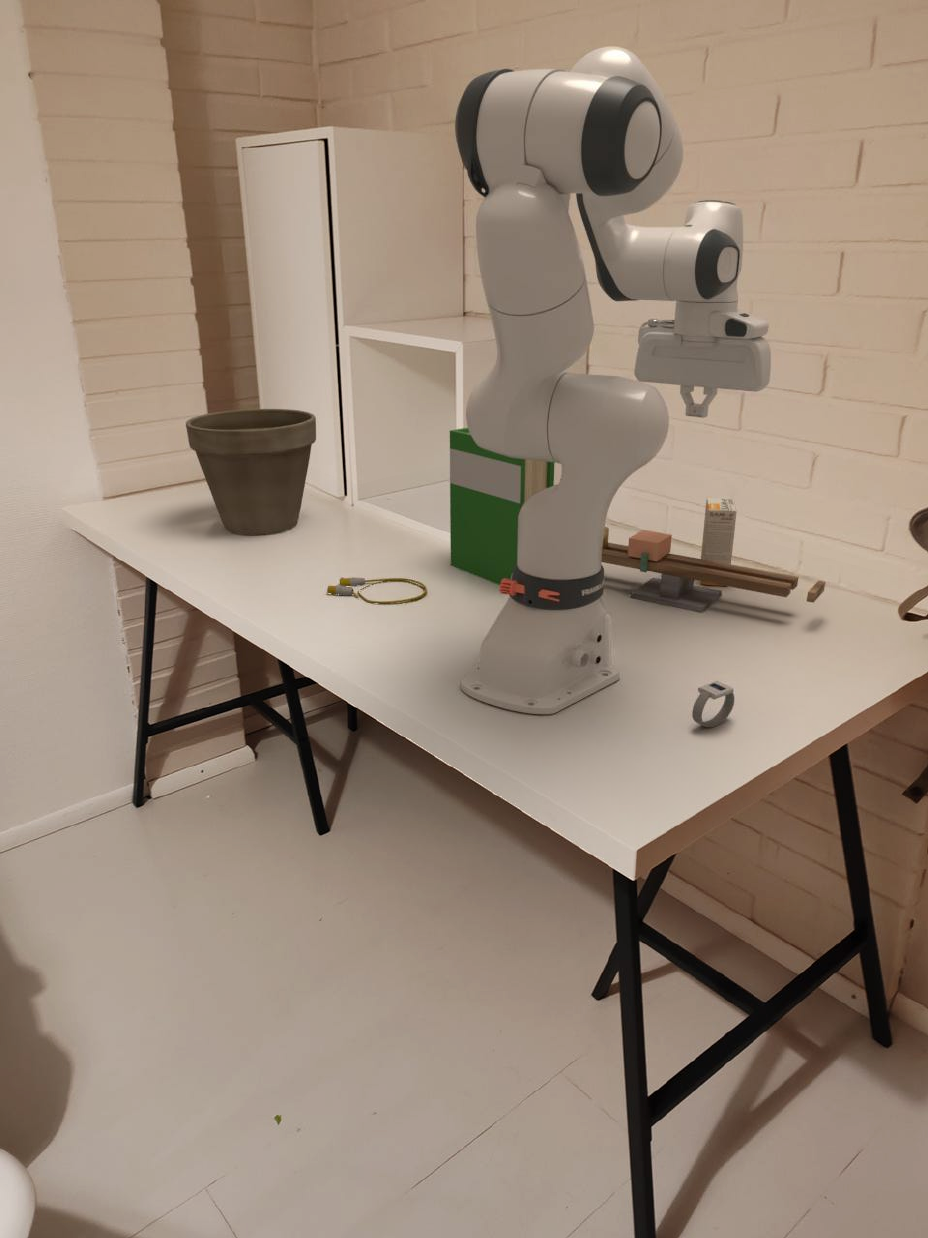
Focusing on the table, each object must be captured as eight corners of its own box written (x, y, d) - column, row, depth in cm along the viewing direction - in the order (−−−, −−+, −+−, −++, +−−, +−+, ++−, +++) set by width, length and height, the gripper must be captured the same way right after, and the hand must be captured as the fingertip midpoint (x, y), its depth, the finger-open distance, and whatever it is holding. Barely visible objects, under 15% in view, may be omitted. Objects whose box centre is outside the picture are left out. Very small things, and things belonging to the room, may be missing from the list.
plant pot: (187, 516, 200) (175, 411, 192) (302, 503, 210) (295, 403, 202) (211, 550, 179) (198, 434, 171) (337, 533, 189) (331, 423, 181)
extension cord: (365, 575, 168) (365, 564, 167) (440, 591, 160) (440, 580, 159) (320, 596, 158) (319, 584, 157) (397, 614, 150) (397, 602, 149)
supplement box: (729, 587, 160) (737, 511, 155) (700, 585, 161) (707, 509, 156) (727, 571, 168) (735, 498, 163) (698, 569, 169) (705, 496, 164)
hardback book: (550, 582, 163) (555, 440, 154) (518, 592, 158) (521, 447, 149) (482, 557, 175) (482, 425, 166) (450, 565, 171) (449, 430, 162)
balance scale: (806, 634, 141) (814, 576, 138) (544, 579, 164) (545, 528, 160) (822, 615, 148) (830, 559, 145) (568, 565, 171) (570, 516, 167)
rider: (656, 570, 154) (658, 543, 152) (627, 565, 156) (628, 538, 154) (669, 561, 158) (671, 534, 156) (641, 556, 160) (643, 529, 159)
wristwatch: (703, 736, 113) (707, 698, 111) (685, 727, 115) (689, 690, 113) (737, 722, 116) (742, 684, 114) (719, 713, 118) (723, 676, 117)
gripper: (630, 319, 144) (624, 412, 149) (765, 326, 133) (754, 426, 139) (648, 316, 149) (642, 406, 154) (779, 323, 138) (768, 420, 143)
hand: (696, 416), depth 146 cm, fingers closed
